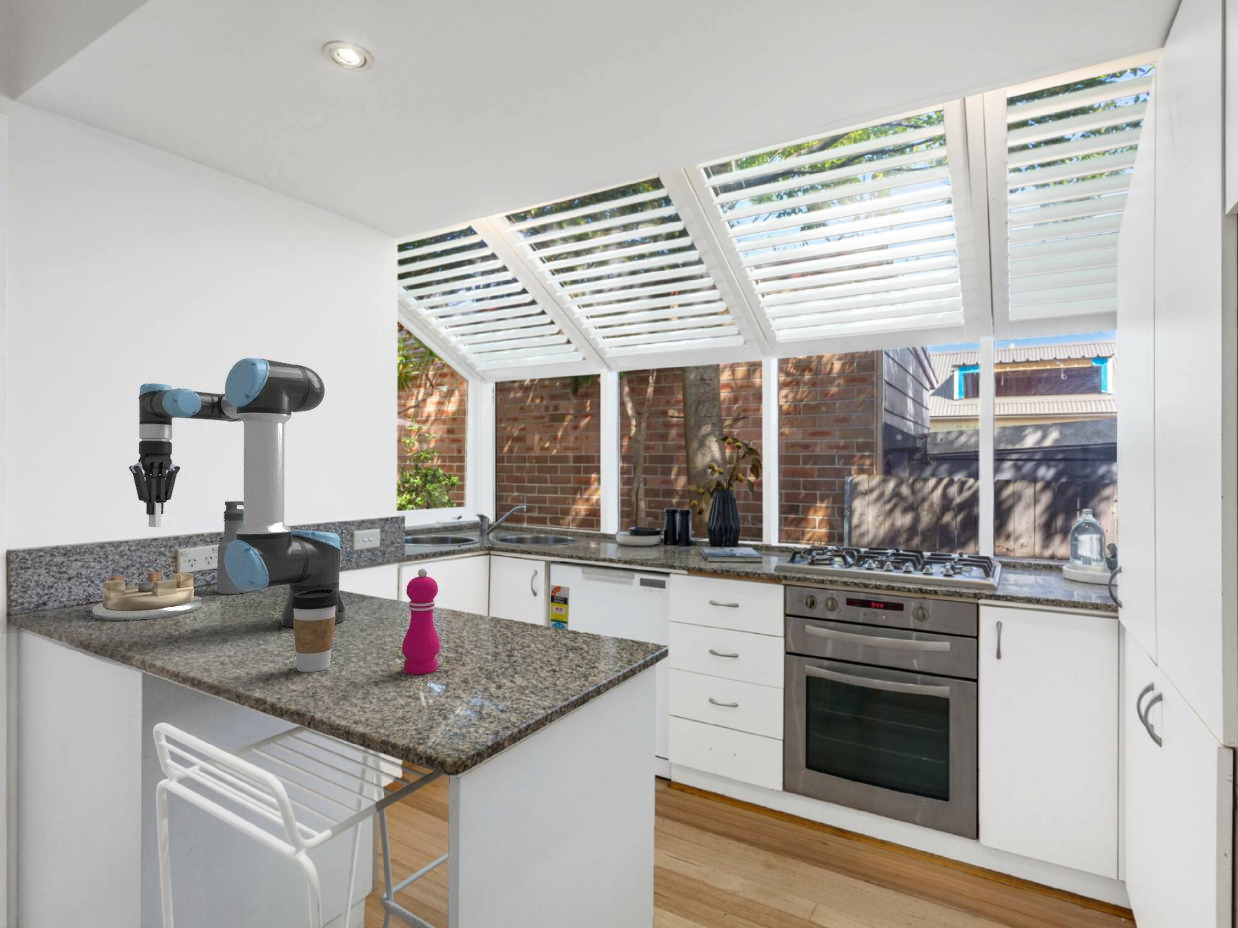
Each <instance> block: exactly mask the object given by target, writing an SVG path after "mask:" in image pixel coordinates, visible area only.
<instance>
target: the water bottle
mask: <svg viewBox="0 0 1238 928" xmlns="http://www.w3.org/2000/svg"><path fill="white" fill-rule="evenodd" d="M224 505H225V510H224V511H223V522H224V527H223V528H224V529H223V530H224V531H223V541H222V542H220V543H219V544H218V545H217V563H216V564H217V565H216V567H217V568H216V570H217V571H216V573H217V574H216V575H217V576H216V592H217V593H218V594H221V595H226V594H232V595H241V594H240V593H243V594H247V593H246V592H248V593H250V592H252V591H253V590H254V589H251V590H245V589H241V588H239V587H237V586H236V585H235V584H234V583H233V582H232V580H231V579H230V578H229V576H228V574H227V571H226V568H225V562H224V555H225V550H227V546H228V545H229V544H230V543H231V542H233V541H235V540H236V532H237V531H238V530H239V529H240V528H241V527H242V526H243V524H244V508H238V506H243V507H244V500H242V501H241V500H230V501H229V500H227V501H224Z"/></svg>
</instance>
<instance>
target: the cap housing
mask: <svg viewBox="0 0 1238 928" xmlns="http://www.w3.org/2000/svg"><path fill="white" fill-rule="evenodd" d="M202 607H203V598H202V597H200V596H197V595H196V596H195V595H194V599H193V600H192V601H190V602H188V603H184V604H180V605H175V606H169V607H162V608H153V609H140V610H114V609H107V608H104V607H103V602H101V603H98V604H96V605H94V606H93V607H92V618H94V619H97V620H100V619H101V620H103V621H109V620H110V621H112V622H114V621H115V620H116V621H115V622H120V620H132V621H140V620H139V619H147V620H156V619H155V618H157V619H163V618H171V617H170V616H172V617H176V616H177V617H178V616H181V614H183V615H187V614H190V613H189V612H191V613H193V612H197V611H198V610H200V609H202ZM196 610H197V611H196ZM113 620H114V621H113ZM118 620H119V621H118Z"/></svg>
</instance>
